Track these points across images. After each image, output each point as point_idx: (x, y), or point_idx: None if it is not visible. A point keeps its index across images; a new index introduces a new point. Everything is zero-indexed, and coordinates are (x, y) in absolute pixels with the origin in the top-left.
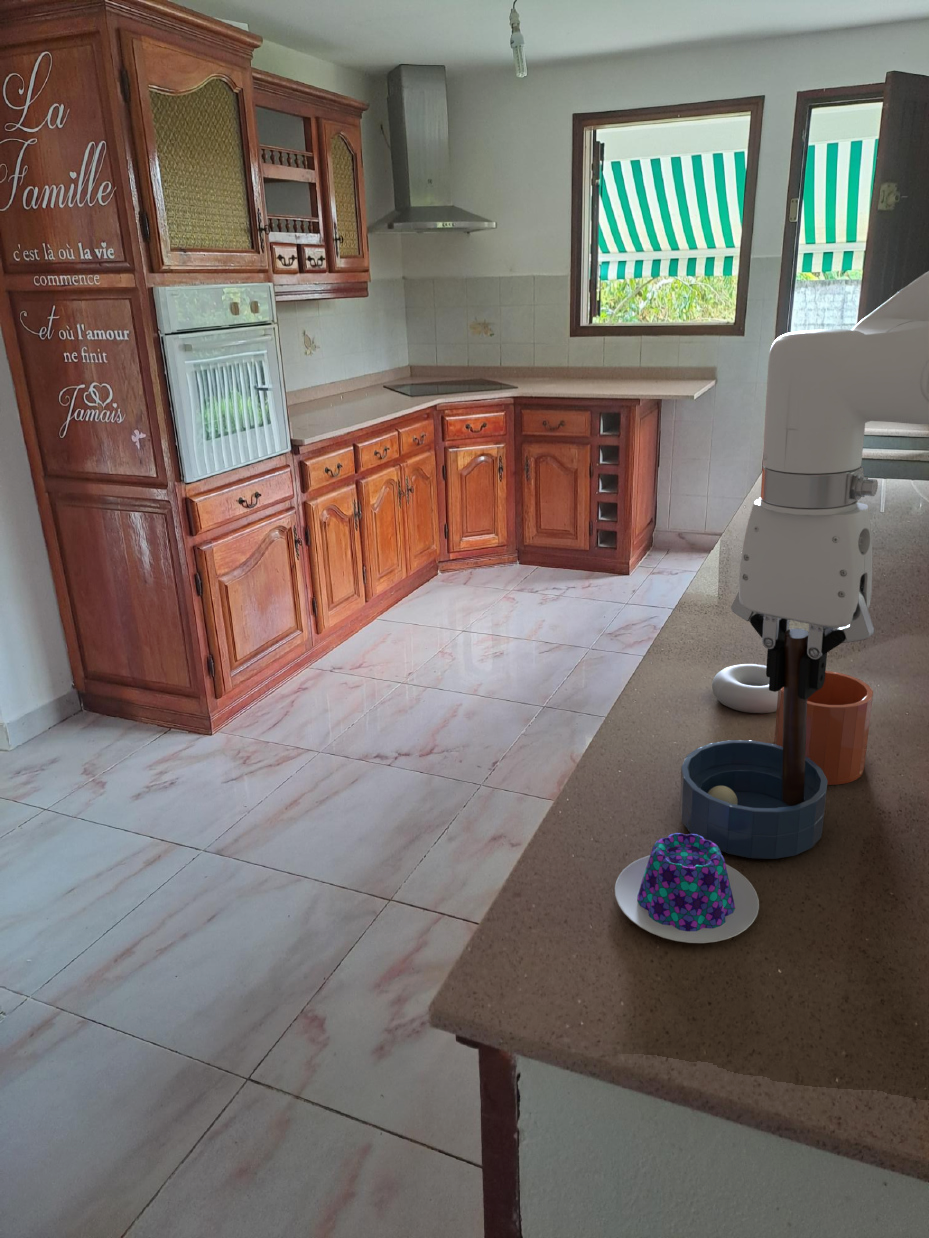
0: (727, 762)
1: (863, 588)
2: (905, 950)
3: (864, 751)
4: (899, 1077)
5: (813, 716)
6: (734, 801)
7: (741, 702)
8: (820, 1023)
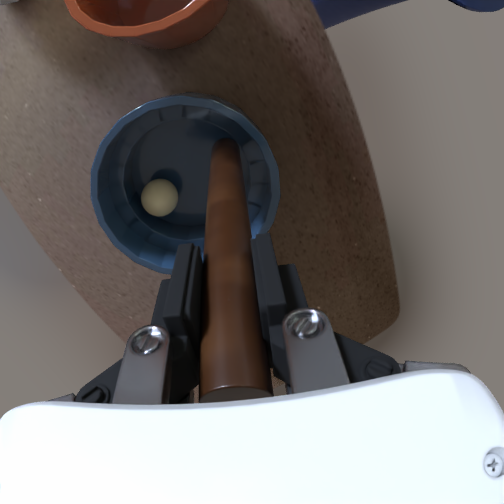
0: (115, 146)
1: (498, 464)
2: (380, 235)
3: None
4: (393, 317)
5: (168, 32)
6: (175, 199)
7: None
8: (353, 319)
